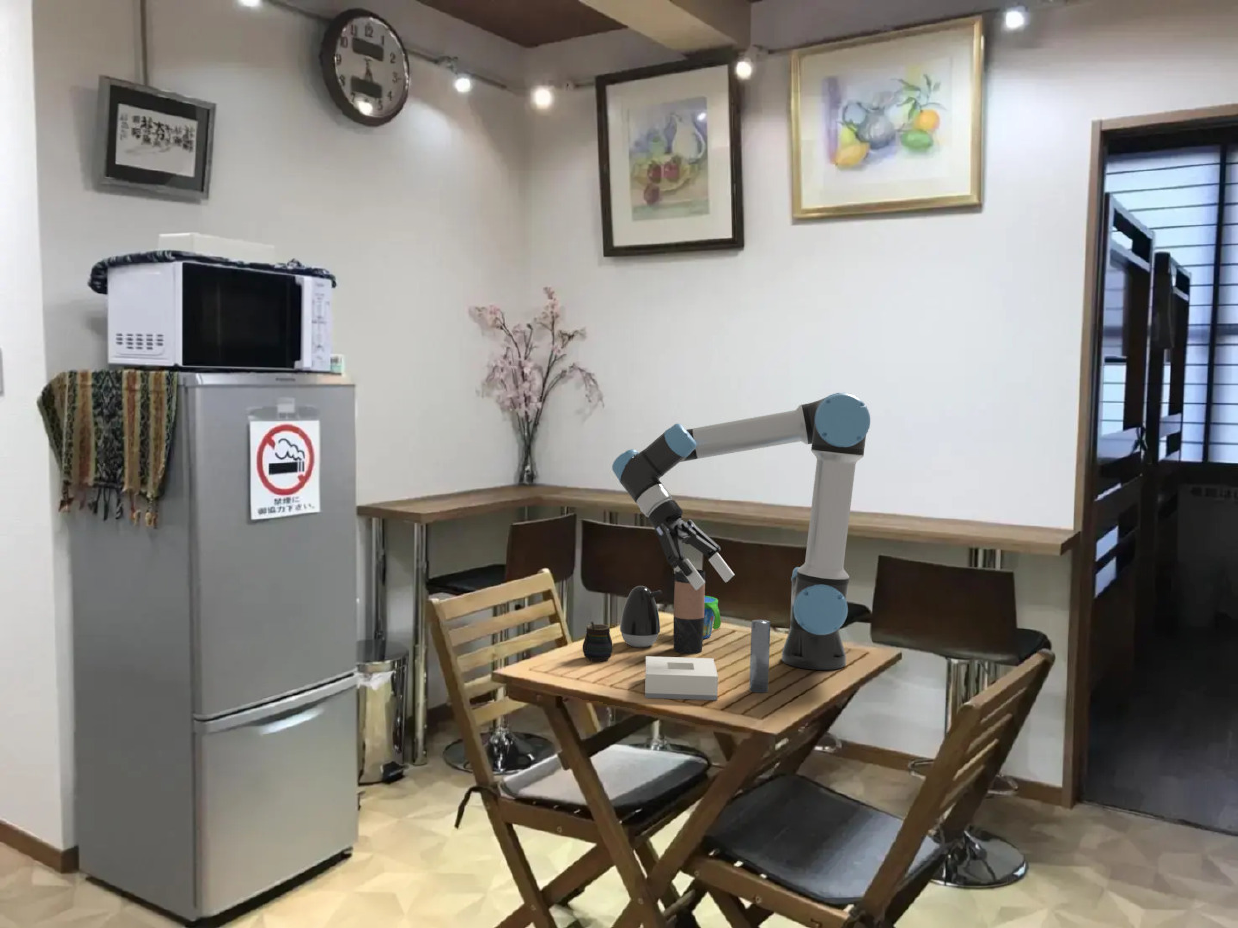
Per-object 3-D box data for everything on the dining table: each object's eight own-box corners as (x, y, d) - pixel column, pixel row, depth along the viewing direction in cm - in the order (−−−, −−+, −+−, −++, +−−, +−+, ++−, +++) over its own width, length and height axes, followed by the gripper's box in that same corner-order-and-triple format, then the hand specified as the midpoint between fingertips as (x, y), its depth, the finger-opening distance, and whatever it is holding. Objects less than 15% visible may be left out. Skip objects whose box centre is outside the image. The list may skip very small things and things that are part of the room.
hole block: (712, 680, 223) (713, 658, 222) (717, 700, 208) (717, 676, 208) (645, 678, 223) (645, 656, 223) (644, 697, 208) (645, 674, 208)
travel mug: (706, 653, 247) (708, 573, 246) (676, 654, 246) (678, 573, 245) (698, 646, 255) (701, 568, 254) (669, 646, 253) (671, 568, 252)
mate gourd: (615, 656, 242) (616, 616, 241) (608, 664, 235) (610, 622, 234) (586, 654, 244) (587, 613, 243) (579, 662, 236) (580, 620, 235)
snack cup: (730, 640, 262) (732, 602, 262) (698, 644, 257) (699, 605, 256) (695, 628, 276) (696, 592, 275) (663, 632, 270) (664, 595, 269)
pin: (766, 688, 218) (769, 620, 217) (769, 693, 214) (771, 623, 213) (748, 687, 218) (750, 619, 217) (750, 692, 214) (752, 623, 213)
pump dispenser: (654, 651, 248) (656, 590, 248) (614, 647, 251) (616, 587, 250) (664, 642, 258) (666, 584, 257) (625, 639, 261) (627, 581, 260)
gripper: (677, 515, 240) (730, 585, 233) (620, 523, 220) (676, 600, 212) (697, 495, 237) (752, 565, 230) (641, 501, 216) (699, 578, 209)
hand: (715, 582), depth 221 cm, fingers open, 13 cm apart
